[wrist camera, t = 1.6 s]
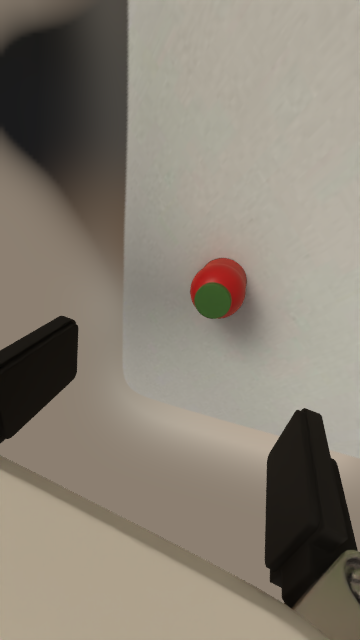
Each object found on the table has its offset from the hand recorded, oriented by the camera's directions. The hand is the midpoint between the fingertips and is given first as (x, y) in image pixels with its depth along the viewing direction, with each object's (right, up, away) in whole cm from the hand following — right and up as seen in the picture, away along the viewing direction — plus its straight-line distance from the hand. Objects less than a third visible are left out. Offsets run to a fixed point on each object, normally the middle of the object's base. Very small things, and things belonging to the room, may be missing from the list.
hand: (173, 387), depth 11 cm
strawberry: (+4, +6, +12) cm, 14 cm away
